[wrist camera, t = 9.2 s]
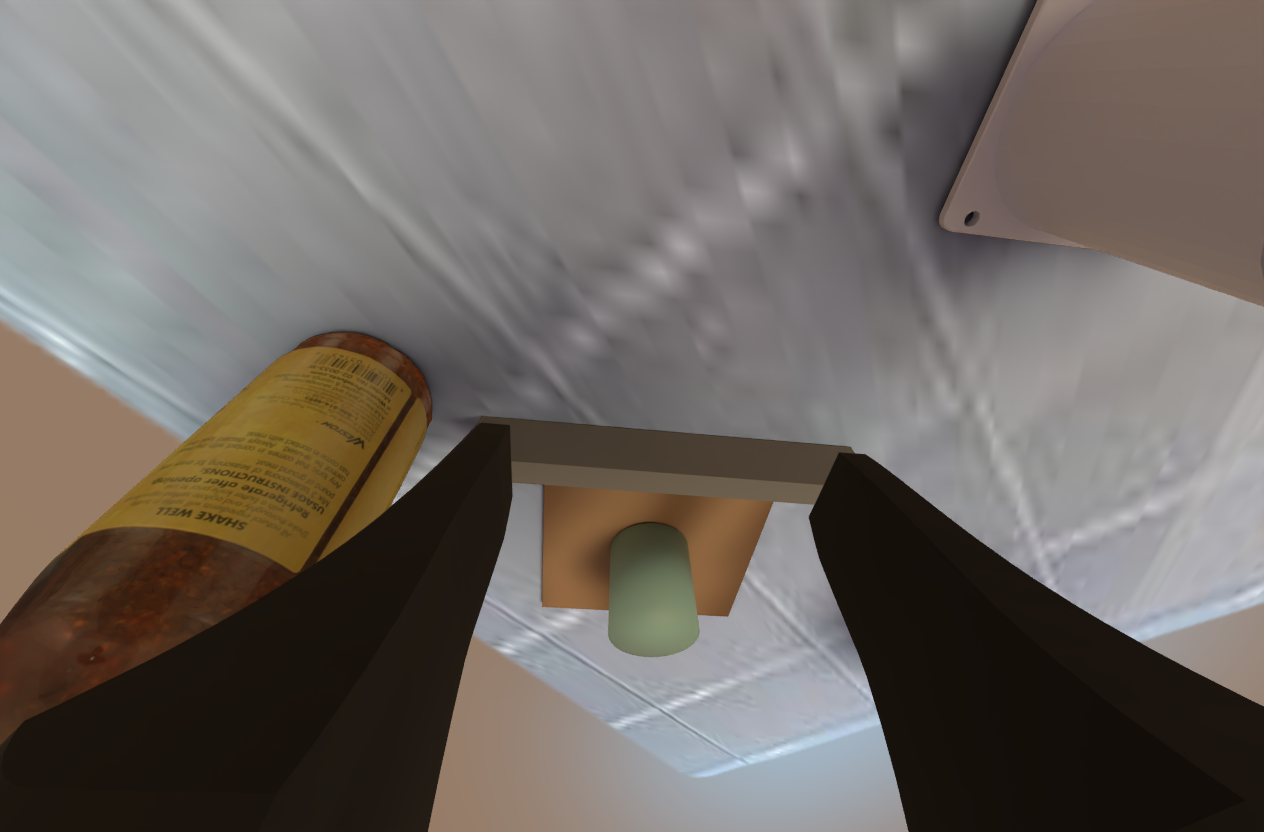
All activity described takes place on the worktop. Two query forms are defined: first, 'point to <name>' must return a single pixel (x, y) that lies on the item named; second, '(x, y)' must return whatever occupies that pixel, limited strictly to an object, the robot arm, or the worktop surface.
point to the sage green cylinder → (651, 592)
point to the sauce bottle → (220, 519)
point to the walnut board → (597, 516)
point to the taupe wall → (667, 461)
